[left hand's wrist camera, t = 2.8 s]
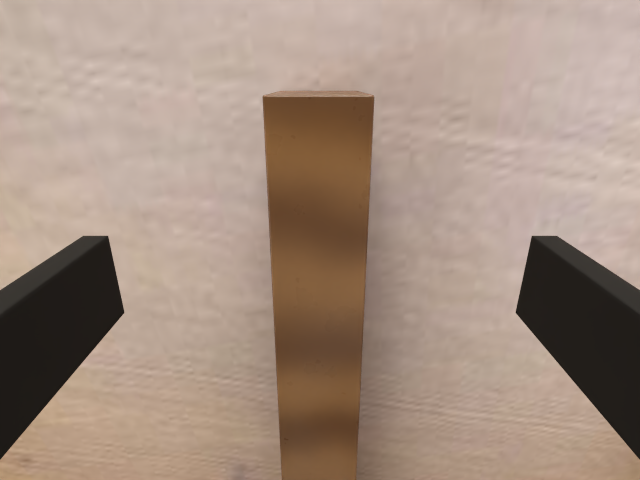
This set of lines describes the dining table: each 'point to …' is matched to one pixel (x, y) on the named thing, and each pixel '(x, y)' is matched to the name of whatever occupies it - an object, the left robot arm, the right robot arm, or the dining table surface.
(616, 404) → the left robot arm
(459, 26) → the dining table surface
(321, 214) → the beam
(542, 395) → the dining table surface
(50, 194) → the dining table surface
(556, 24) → the dining table surface
